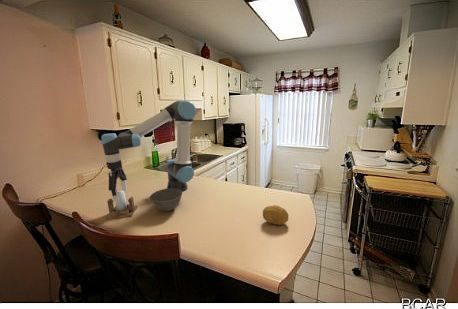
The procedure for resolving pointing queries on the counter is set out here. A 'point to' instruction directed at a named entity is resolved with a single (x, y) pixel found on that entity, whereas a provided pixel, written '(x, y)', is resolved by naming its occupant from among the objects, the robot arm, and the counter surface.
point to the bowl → (166, 198)
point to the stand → (119, 214)
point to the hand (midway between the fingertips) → (120, 195)
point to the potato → (275, 215)
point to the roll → (121, 201)
